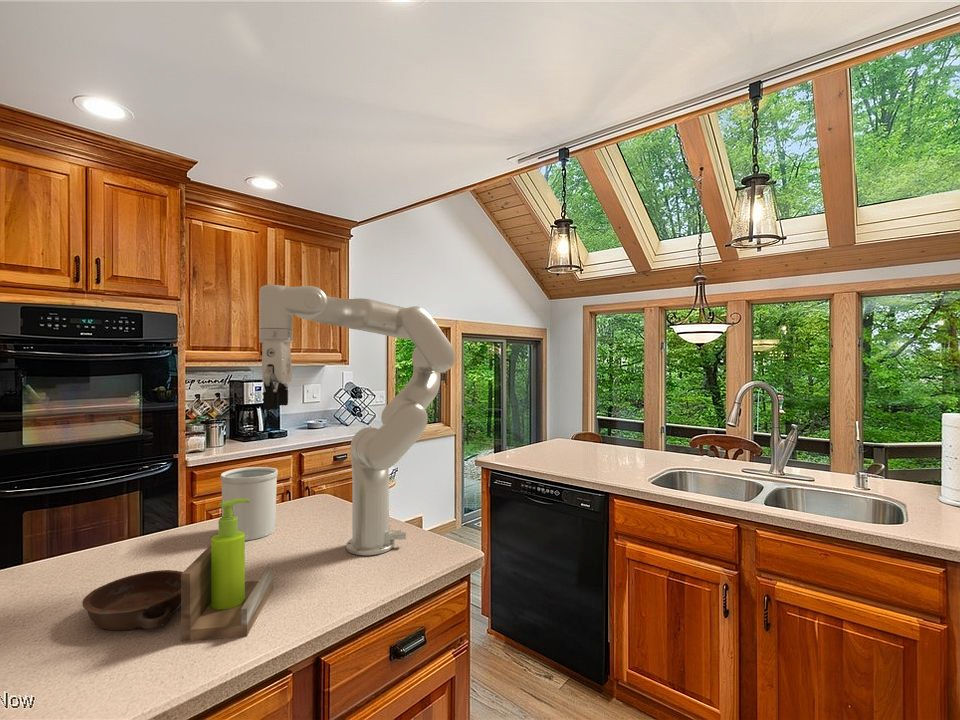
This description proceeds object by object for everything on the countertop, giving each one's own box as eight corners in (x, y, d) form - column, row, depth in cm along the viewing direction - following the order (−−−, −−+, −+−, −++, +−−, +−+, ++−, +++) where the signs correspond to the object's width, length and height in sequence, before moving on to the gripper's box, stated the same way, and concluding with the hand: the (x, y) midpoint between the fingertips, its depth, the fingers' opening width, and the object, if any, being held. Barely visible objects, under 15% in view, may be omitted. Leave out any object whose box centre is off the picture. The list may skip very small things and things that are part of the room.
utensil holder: (241, 522, 148) (241, 465, 148) (287, 525, 146) (287, 466, 146) (208, 540, 134) (208, 477, 134) (258, 543, 132) (258, 479, 132)
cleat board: (272, 589, 106) (272, 534, 106) (246, 636, 88) (246, 570, 88) (218, 592, 104) (218, 537, 104) (181, 641, 86) (181, 574, 86)
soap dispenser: (255, 599, 97) (254, 499, 97) (217, 613, 92) (217, 507, 92) (243, 590, 101) (243, 494, 101) (206, 602, 96) (206, 501, 96)
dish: (162, 581, 110) (162, 559, 110) (213, 611, 97) (213, 586, 97) (64, 615, 95) (64, 590, 95) (108, 655, 83) (108, 625, 83)
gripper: (283, 335, 110) (283, 411, 110) (299, 338, 127) (299, 403, 127) (248, 335, 109) (248, 411, 109) (269, 338, 126) (269, 404, 126)
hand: (276, 407), depth 118 cm, fingers open, 9 cm apart
